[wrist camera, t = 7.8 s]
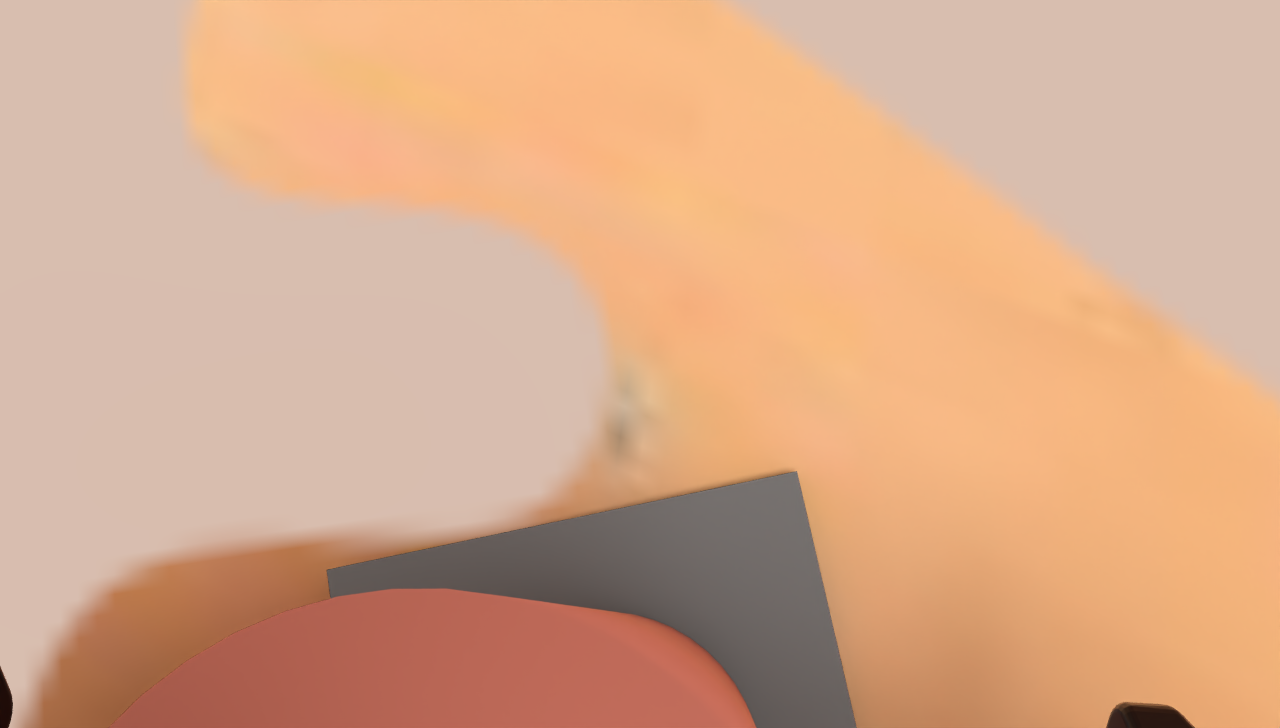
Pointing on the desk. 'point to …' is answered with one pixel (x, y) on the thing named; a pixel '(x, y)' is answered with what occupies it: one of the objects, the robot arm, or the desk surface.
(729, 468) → the desk surface
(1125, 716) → the robot arm
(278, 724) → the red plug
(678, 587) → the pad
